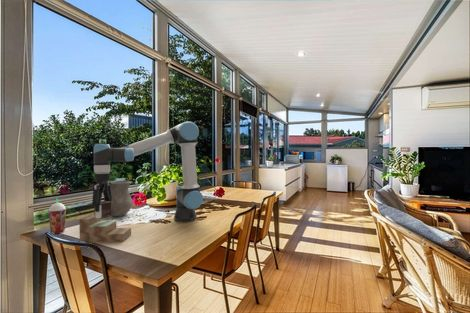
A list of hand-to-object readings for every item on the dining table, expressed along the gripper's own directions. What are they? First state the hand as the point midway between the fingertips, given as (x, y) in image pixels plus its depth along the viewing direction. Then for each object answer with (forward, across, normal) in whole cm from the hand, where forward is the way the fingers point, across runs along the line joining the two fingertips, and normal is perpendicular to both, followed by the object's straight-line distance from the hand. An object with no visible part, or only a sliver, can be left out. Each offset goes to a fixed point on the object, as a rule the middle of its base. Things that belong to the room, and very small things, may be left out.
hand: (102, 215), depth 126 cm
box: (+1, 0, 0) cm, 1 cm away
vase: (+13, -46, -13) cm, 50 cm away
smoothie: (+13, -12, -32) cm, 37 cm away
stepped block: (+13, 0, +2) cm, 13 cm away
